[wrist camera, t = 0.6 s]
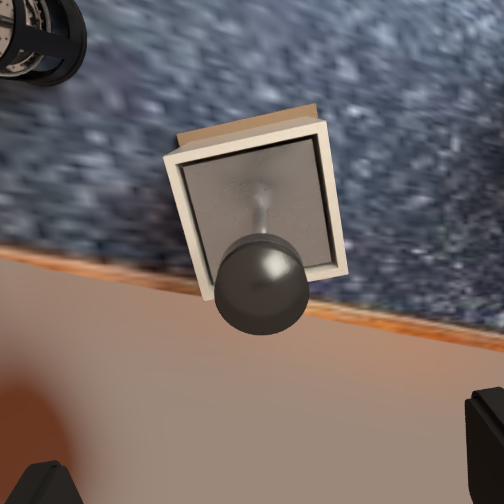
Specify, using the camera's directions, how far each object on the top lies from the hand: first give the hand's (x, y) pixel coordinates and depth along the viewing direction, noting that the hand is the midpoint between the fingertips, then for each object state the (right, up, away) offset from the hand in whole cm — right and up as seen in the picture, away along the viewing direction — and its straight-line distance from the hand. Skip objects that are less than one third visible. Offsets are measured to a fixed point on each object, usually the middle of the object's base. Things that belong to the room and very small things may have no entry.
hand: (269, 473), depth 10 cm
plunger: (0, +8, +23) cm, 25 cm away
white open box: (0, +12, +34) cm, 37 cm away
